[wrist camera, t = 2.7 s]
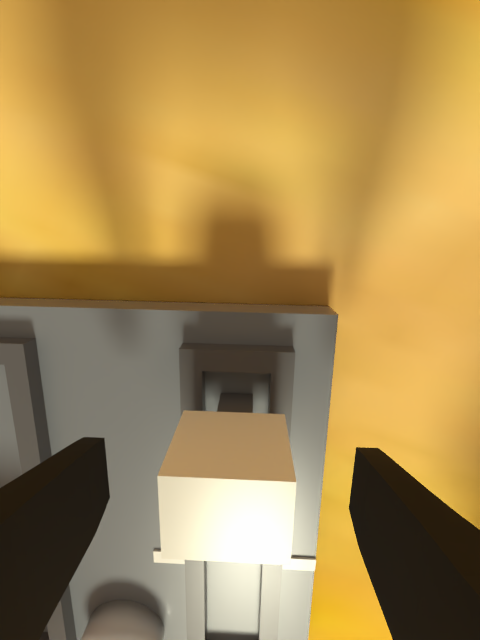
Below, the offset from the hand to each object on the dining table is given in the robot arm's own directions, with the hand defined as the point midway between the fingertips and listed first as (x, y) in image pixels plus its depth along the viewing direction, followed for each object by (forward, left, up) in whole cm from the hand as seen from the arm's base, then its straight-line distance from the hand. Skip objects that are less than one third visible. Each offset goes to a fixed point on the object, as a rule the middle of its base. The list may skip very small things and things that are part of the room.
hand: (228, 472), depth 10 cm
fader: (0, 0, -3) cm, 3 cm away
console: (+4, +5, -5) cm, 8 cm away
